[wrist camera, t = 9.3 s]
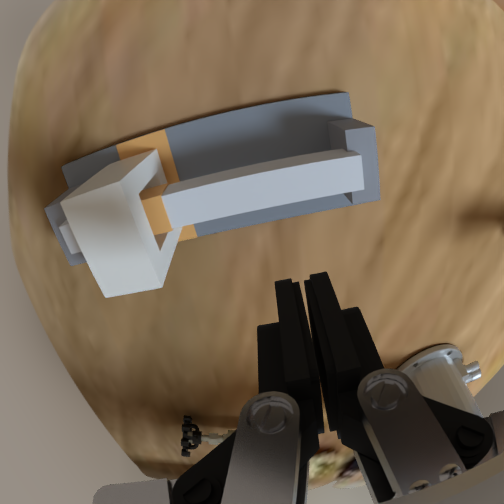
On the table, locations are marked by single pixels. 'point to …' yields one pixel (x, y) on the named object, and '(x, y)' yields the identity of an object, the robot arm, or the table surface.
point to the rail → (250, 150)
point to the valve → (198, 436)
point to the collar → (121, 226)
